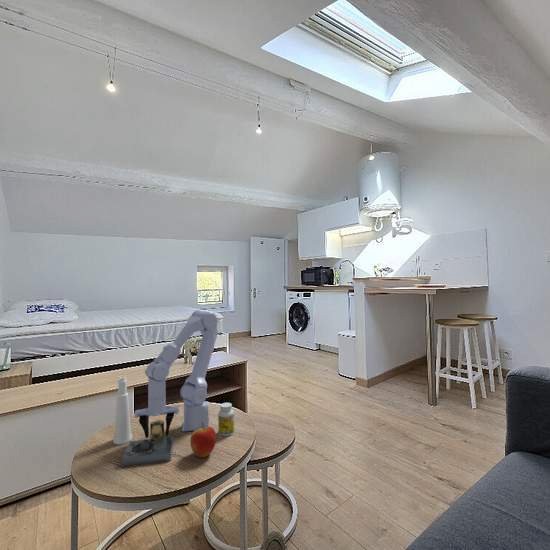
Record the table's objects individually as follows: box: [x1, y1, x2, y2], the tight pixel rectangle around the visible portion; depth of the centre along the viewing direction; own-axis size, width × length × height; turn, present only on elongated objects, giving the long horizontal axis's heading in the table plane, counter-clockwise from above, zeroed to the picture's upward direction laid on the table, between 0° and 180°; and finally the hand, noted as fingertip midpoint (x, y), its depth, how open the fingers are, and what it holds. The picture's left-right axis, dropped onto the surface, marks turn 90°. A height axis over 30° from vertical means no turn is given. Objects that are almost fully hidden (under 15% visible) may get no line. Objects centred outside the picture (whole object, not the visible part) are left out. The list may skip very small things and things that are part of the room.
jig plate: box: [121, 436, 175, 468], centre depth 101 cm, size 14×10×2 cm
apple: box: [189, 423, 217, 458], centre depth 101 cm, size 8×8×10 cm
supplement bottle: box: [217, 402, 235, 437], centre depth 115 cm, size 6×6×10 cm
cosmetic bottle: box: [112, 376, 133, 445], centre depth 111 cm, size 6×6×22 cm
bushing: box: [149, 419, 165, 439], centre depth 110 cm, size 4×4×6 cm
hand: (157, 435), depth 110 cm, fingers open, 6 cm apart
